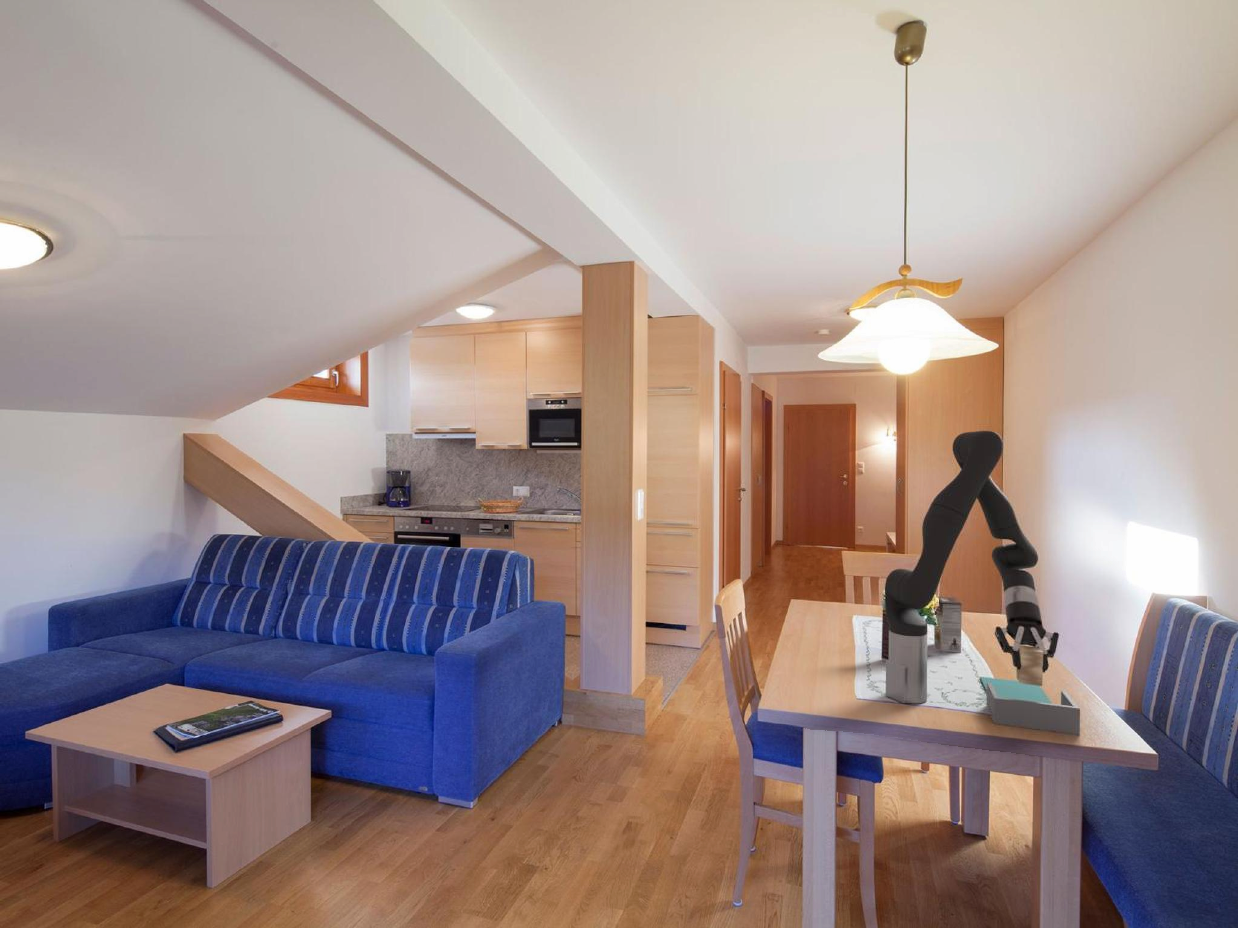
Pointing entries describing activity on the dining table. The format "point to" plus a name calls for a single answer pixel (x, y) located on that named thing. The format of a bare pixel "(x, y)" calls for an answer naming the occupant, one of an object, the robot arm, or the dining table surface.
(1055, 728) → the low gray barrier wall
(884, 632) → the supplement box
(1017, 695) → the teal mat
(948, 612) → the coffee box
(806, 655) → the dining table surface
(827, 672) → the dining table surface
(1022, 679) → the maple block
